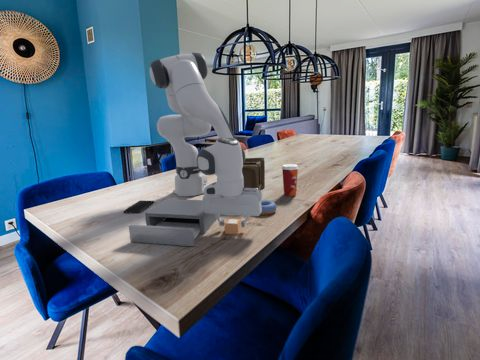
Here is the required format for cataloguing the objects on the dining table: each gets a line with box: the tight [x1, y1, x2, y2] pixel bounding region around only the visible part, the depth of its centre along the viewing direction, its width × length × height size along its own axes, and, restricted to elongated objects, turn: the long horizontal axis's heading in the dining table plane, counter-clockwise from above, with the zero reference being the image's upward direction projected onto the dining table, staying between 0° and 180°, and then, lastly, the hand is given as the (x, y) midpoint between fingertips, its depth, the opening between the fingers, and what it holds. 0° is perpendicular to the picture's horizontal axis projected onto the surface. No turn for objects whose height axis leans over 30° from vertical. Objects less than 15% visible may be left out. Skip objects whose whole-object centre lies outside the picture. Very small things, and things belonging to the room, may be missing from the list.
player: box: [144, 198, 218, 235], centre depth 109 cm, size 16×22×6 cm
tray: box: [128, 221, 201, 247], centre depth 100 cm, size 16×22×6 cm
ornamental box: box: [242, 157, 266, 191], centre depth 143 cm, size 35×18×18 cm, turn 168°
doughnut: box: [259, 199, 277, 216], centre depth 118 cm, size 10×10×5 cm
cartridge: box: [224, 218, 242, 235], centre depth 101 cm, size 5×4×4 cm
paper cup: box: [281, 163, 299, 197], centre depth 137 cm, size 8×8×14 cm
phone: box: [122, 200, 155, 215], centre depth 130 cm, size 8×1×15 cm
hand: (232, 226), depth 101 cm, fingers open, 6 cm apart
